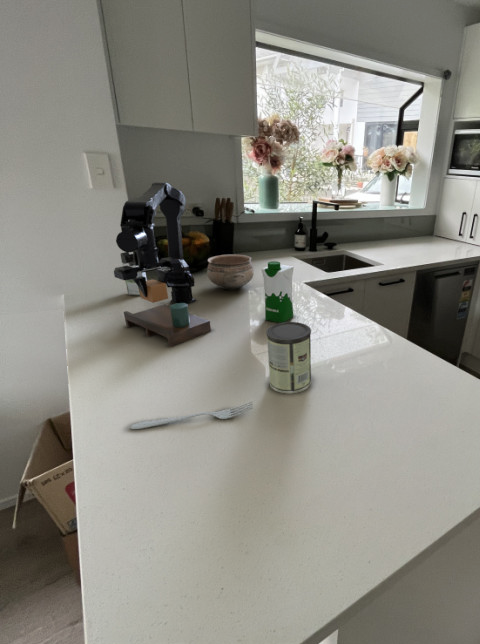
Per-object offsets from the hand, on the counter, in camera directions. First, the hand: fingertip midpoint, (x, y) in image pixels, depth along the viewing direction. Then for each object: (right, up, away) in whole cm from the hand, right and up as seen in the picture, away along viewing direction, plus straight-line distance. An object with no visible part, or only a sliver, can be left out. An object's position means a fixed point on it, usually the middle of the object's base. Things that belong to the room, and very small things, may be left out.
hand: (154, 294), depth 118 cm
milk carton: (+38, -7, +12) cm, 40 cm away
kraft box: (0, -1, 0) cm, 1 cm away
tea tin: (+10, -9, -3) cm, 14 cm away
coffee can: (+46, -24, -25) cm, 58 cm away
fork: (+28, -29, -39) cm, 56 cm away
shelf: (+4, -11, +2) cm, 12 cm away
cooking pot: (+13, +6, +42) cm, 44 cm away
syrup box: (-22, +3, +32) cm, 39 cm away
